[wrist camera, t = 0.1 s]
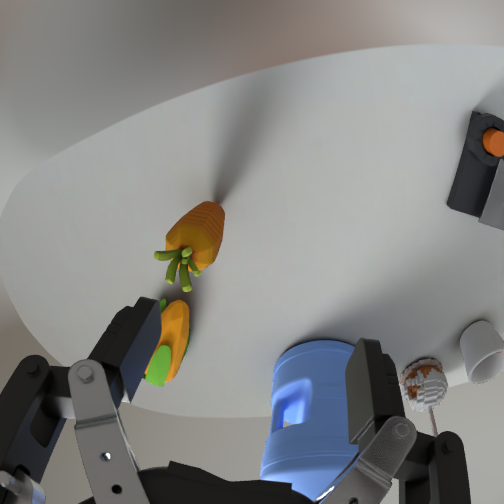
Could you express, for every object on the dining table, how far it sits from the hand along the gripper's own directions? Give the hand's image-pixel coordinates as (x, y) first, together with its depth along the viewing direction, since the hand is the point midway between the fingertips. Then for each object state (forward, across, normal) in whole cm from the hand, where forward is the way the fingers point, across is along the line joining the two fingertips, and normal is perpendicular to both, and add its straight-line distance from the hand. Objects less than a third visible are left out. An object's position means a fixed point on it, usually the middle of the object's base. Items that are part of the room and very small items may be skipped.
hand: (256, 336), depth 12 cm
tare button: (+22, -22, -10) cm, 33 cm away
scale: (+25, -25, -6) cm, 36 cm away
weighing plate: (+22, -26, -4) cm, 35 cm away
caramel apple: (+25, -30, +29) cm, 49 cm away
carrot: (+25, +7, +6) cm, 27 cm away
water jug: (+25, -12, +31) cm, 42 cm away
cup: (+25, -37, +20) cm, 49 cm away
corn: (+25, +13, +28) cm, 40 cm away
